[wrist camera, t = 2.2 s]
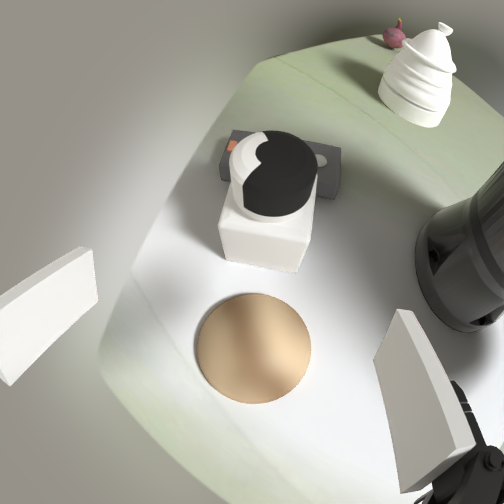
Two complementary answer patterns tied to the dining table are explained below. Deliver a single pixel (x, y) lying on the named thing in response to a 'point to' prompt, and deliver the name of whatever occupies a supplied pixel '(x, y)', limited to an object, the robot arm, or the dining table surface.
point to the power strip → (324, 154)
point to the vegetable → (394, 36)
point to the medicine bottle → (269, 201)
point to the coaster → (254, 348)
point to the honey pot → (420, 78)
